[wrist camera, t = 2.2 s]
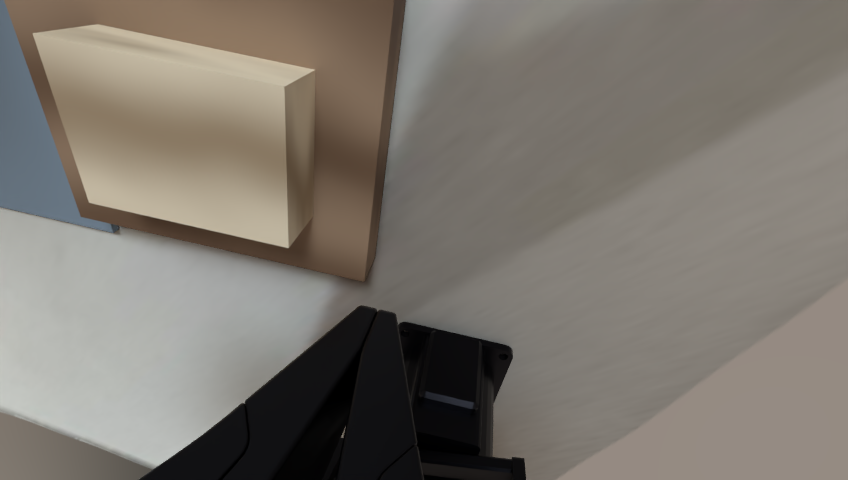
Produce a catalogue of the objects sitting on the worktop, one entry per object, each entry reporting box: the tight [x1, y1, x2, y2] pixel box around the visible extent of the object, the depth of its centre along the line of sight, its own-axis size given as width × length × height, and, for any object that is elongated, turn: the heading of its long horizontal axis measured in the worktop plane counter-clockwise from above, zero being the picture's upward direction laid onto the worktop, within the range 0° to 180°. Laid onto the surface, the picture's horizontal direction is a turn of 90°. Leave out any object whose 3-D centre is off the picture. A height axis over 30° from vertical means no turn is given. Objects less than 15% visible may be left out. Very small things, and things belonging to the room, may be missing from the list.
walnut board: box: [4, 0, 406, 282], centre depth 17 cm, size 12×14×2 cm
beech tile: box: [33, 24, 315, 248], centre depth 15 cm, size 6×8×2 cm
